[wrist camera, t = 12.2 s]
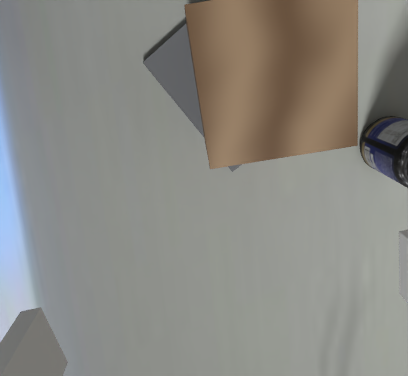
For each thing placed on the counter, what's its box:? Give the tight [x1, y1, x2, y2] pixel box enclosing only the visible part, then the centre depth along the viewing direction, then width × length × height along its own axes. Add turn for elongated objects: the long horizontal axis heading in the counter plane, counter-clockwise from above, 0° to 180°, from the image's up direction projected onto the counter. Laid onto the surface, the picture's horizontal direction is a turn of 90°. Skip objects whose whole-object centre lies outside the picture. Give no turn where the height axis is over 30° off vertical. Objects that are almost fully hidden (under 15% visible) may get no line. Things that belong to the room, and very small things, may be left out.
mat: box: [143, 24, 242, 172], centre depth 35 cm, size 15×15×1 cm
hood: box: [185, 0, 358, 169], centre depth 29 cm, size 11×11×13 cm
